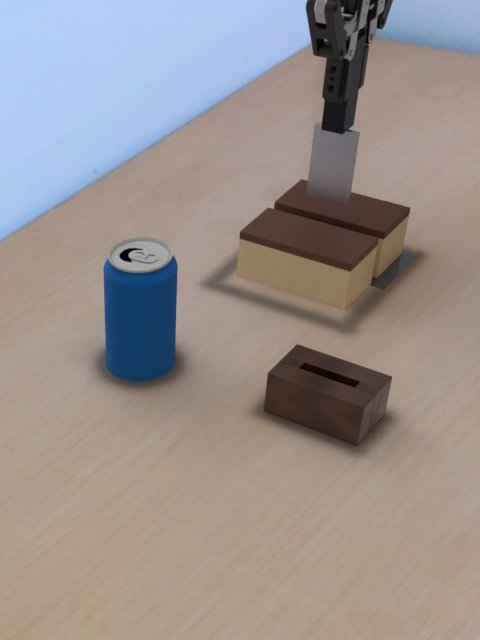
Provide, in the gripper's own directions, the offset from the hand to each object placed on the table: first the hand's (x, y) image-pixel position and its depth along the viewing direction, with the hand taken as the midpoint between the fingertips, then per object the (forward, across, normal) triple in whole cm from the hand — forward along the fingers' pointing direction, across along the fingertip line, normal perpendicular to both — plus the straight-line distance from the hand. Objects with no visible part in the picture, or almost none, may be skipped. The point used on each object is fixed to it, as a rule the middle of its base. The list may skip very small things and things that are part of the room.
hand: (342, 93), depth 99 cm
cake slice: (+17, -3, 0) cm, 17 cm away
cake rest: (+17, +3, 0) cm, 17 cm away
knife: (+10, 0, 0) cm, 10 cm away
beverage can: (+18, -23, +6) cm, 30 cm away
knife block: (+18, -21, -12) cm, 30 cm away
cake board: (+18, -1, 0) cm, 18 cm away
